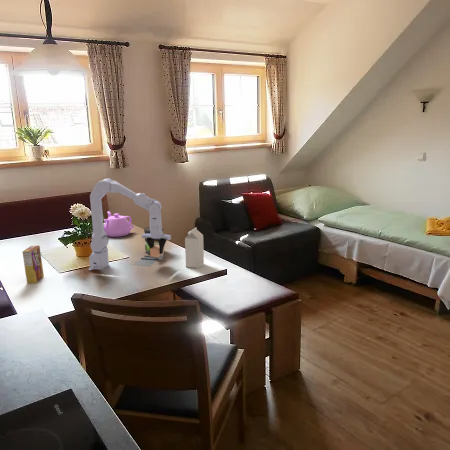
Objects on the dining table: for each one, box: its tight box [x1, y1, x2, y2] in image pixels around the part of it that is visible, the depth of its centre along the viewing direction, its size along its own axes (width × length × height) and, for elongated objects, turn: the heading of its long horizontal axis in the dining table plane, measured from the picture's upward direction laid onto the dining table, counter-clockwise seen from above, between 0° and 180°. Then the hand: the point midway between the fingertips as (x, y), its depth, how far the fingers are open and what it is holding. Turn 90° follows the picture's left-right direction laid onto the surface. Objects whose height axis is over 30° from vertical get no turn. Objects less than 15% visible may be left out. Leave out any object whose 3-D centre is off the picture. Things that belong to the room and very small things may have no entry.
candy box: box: [22, 245, 45, 285], centre depth 190 cm, size 9×4×15 cm, turn 0°
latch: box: [154, 253, 165, 261], centre depth 215 cm, size 6×4×5 cm, turn 165°
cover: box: [149, 245, 165, 257], centre depth 206 cm, size 7×4×4 cm, turn 165°
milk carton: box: [184, 227, 205, 269], centre depth 208 cm, size 7×7×19 cm
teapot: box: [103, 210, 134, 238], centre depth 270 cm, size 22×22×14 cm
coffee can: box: [143, 226, 164, 255], centre depth 229 cm, size 10×10×14 cm
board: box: [131, 255, 159, 267], centre depth 215 cm, size 15×10×2 cm, turn 165°
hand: (157, 252), depth 206 cm, fingers closed on cover, 4 cm apart
